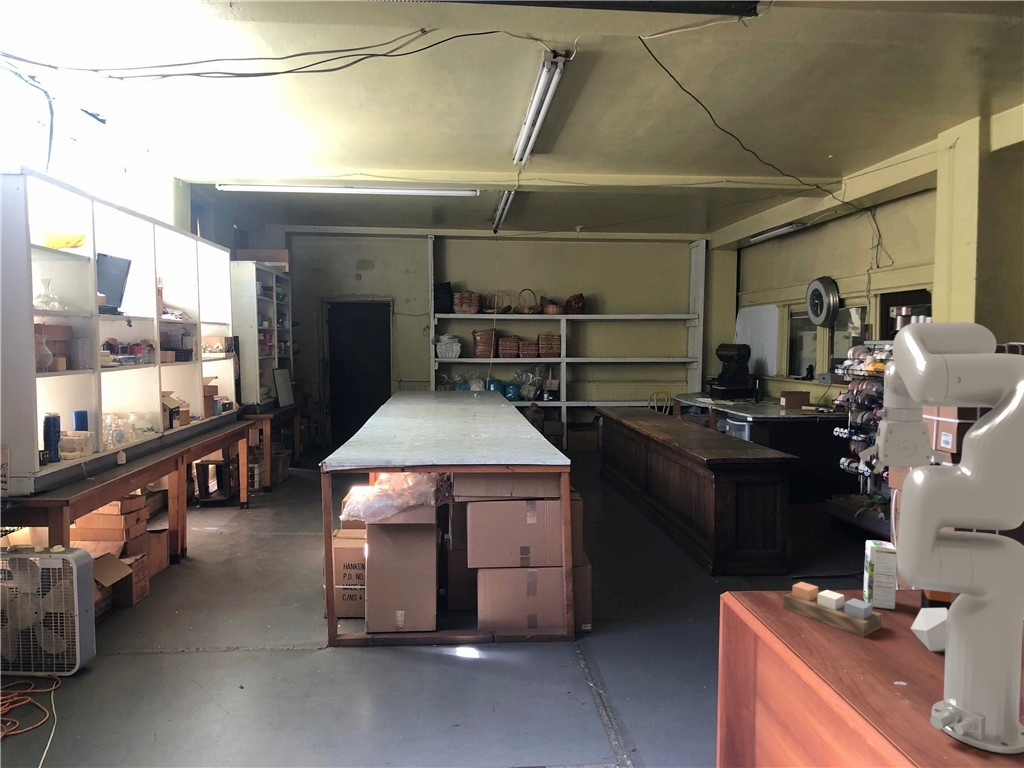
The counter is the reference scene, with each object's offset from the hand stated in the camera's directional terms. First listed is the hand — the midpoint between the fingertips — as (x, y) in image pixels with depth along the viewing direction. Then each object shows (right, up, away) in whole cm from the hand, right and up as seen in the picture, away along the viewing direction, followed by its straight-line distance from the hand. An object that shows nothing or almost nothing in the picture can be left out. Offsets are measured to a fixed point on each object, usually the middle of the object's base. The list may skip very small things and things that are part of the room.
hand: (900, 490), depth 138 cm
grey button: (-12, -27, -5) cm, 30 cm away
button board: (-16, -29, 0) cm, 33 cm away
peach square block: (-19, -26, +5) cm, 33 cm away
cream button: (-16, -27, 0) cm, 31 cm away
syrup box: (0, -29, +7) cm, 30 cm away
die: (-1, -30, -14) cm, 33 cm away
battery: (+7, -29, -1) cm, 30 cm away
